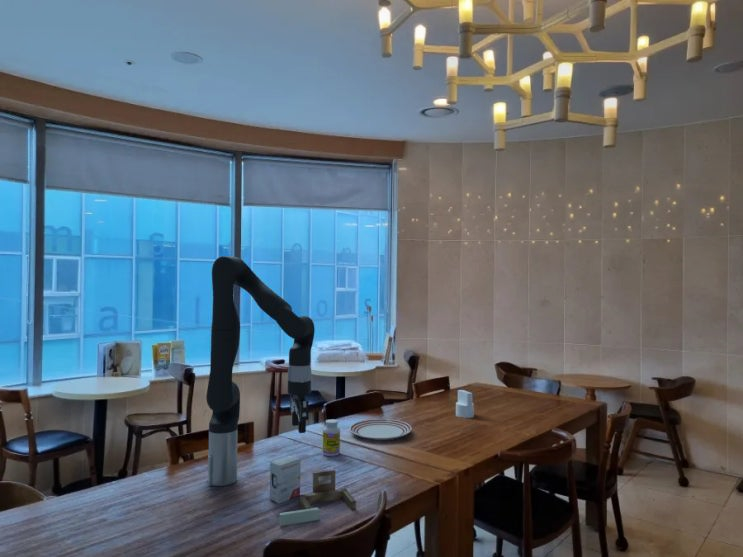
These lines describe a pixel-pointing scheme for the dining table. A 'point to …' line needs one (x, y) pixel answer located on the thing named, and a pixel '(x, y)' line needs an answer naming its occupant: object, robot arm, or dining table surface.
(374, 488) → the dining table surface
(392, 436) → the dinner plate
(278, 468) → the ink box
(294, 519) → the pale green bar
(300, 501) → the rack bay
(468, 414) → the base with upright slab
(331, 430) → the supplement bottle
